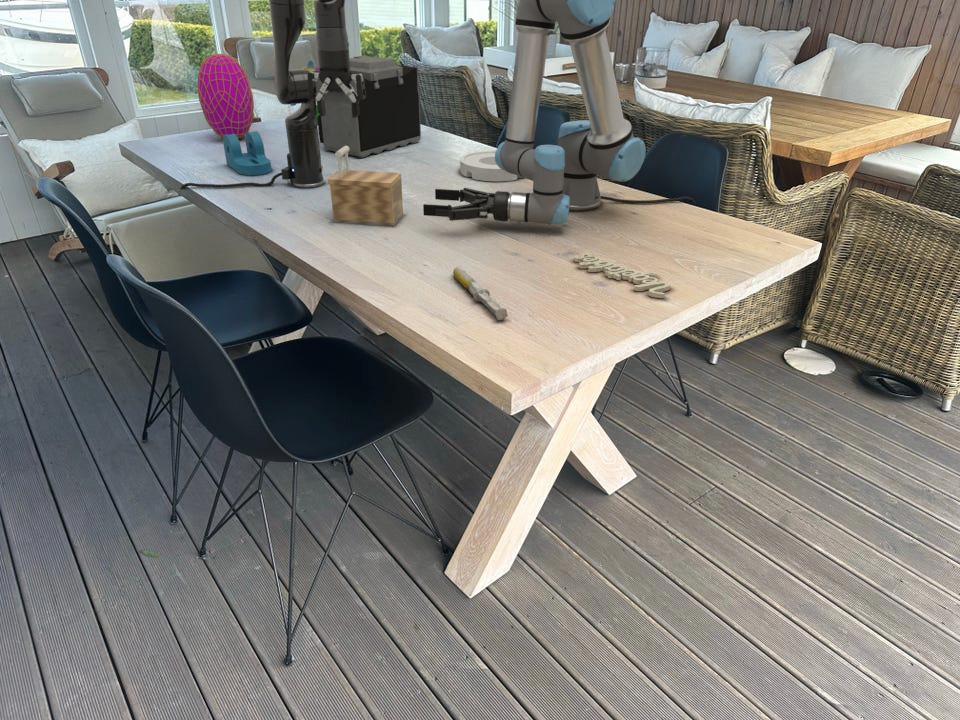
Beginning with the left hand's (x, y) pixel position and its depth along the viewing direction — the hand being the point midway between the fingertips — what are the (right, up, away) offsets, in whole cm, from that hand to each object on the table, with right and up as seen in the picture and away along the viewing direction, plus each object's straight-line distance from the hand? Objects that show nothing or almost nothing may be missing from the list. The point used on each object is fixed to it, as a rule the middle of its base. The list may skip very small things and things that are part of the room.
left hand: (339, 116), depth 175 cm
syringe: (+36, -49, -30) cm, 67 cm away
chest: (+6, -23, +13) cm, 27 cm away
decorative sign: (+68, -43, -19) cm, 83 cm away
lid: (+5, -14, +7) cm, 17 cm away
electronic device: (-5, +18, +83) cm, 85 cm away
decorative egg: (-60, +23, +91) cm, 111 cm away
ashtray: (+41, +1, +54) cm, 68 cm away
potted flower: (-33, +39, +117) cm, 128 cm away
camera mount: (-41, +2, +54) cm, 68 cm away
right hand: (+23, -20, +6) cm, 31 cm away
